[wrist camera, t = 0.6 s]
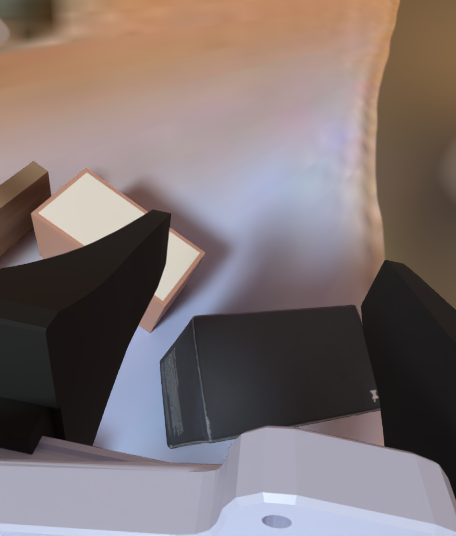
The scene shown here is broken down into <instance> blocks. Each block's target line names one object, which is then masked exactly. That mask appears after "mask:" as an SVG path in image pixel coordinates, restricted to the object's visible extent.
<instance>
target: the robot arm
mask: <svg viewBox="0 0 456 536" xmlns="http://www.w3.org/2000/svg"><path fill="white" fill-rule="evenodd" d="M170 219H171V213H166V212H161V211H157V210H151V211H150V212H148V213H146V214H144V215H143V216H141V217H139V218H138V219H136V220H134V221H133V222H131V223H129V224H127V225H126V226H124V227H122V228H120V229H119V230H117V231H115V232H113V233H111V234H109V235H107V236H105V237H103V238H101V239H99V240H97V241H95V242H93V243H90V244H88V245H85V246H83V247H81V248H78V249H75V250H72V251H70V252H67V253H64V254H61V255H57V256H54V257H50V258H47V259H43V260H39V261H36V262H32V263H28V264H23V265H18V266H13V267H8V268H2V269H0V536H456V310H455V309H454V308H453V307H452V306H451V305H450V304H449V303H447V302H446V301H445V300H444V299H443V298H442V297H441V296H440V295H439V294H438V293H436V292H435V291H434V290H433V289H432V288H431V287H430V286H429V285H427V283H426V282H424V281H423V280H422V279H421V278H420V277H419V276H418V275H417V274H415V273H414V272H413V271H412V270H411V269H410V268H408V267H407V266H405V265H404V264H402V263H397V262H393V261H388V260H385V261H384V263H383V264H382V266H381V268H380V270H379V272H378V274H377V276H376V278H375V280H374V282H373V284H372V286H371V288H370V290H369V291H368V293H367V295H366V297H365V299H364V301H363V303H362V305H361V312H362V325H363V333H364V338H365V342H366V346H367V350H368V354H369V358H370V362H371V367H372V371H373V375H374V379H375V383H376V387H377V391H378V396H379V402H380V409H381V418H382V426H383V435H384V446H385V447H384V446H380V445H375V444H370V443H366V442H361V441H356V440H351V439H347V438H342V437H337V436H333V435H328V434H323V433H318V432H314V431H309V430H304V429H300V428H295V427H282V426H264V427H261V428H257V429H253V430H250V431H246V432H244V433H243V434H241V435H240V436H239V437H238V438H237V439H236V440H235V441H234V443H233V444H232V445H231V446H230V447H229V450H228V453H227V456H226V458H225V461H224V463H223V464H190V463H169V462H164V461H159V460H155V459H150V458H145V457H140V456H136V455H131V454H126V453H121V452H117V451H112V450H107V449H102V448H98V447H93V443H94V440H95V437H96V434H97V431H98V428H99V425H100V422H101V419H102V416H103V413H104V410H105V407H106V405H107V402H108V399H109V396H110V393H111V391H112V388H113V385H114V382H115V380H116V377H117V374H118V371H119V369H120V366H121V364H122V361H123V358H124V356H125V353H126V350H127V348H128V346H129V343H130V341H131V339H132V337H133V335H134V333H135V331H136V329H137V327H138V325H139V323H140V321H141V319H142V317H143V315H144V314H145V312H146V310H147V308H148V306H149V304H150V302H151V300H152V298H153V296H154V294H155V292H156V290H157V288H158V285H159V283H160V280H161V277H162V274H163V271H164V268H165V265H166V259H167V249H168V239H169V229H170Z"/></svg>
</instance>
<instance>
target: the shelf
mask: <svg viewBox="0 0 456 536" xmlns="http://www.w3.org/2000/svg"><path fill="white" fill-rule="evenodd" d="M50 197H51V191H50V182H49V174H48V171H47V170H45V169H44V168H43V167H41V166H40V165H38V164H37V163H36V162H34V161H33V162H32V163H30V164H29V165H27V166H26V167H25V168H23V169H22V170H21V171H19V172H18V173H16V174H15V175H14V176H12V177H11V178H10V179H8V180H7V181H5V182H4V183H3V184H1V185H0V256H2V255H3V254H4V253H5V252H6V251H7V250H9V249H10V248H11V247H12V246H13V245H14V244H16V243H17V242H18V241H19V240H20V239H21V238H23V237H24V236H25V235H26V234H27V233H29V232H30V231H31V230H32V229H33V228H34V226H33V221H32V217H31V213H32V212H33V211H34V210H36V209H37V208H38V207H39V206H40V205H42V204H43V203H44V202H45V201H46V200H48V199H49V198H50Z"/></svg>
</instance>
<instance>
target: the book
mask: <svg viewBox="0 0 456 536" xmlns="http://www.w3.org/2000/svg"><path fill="white" fill-rule="evenodd" d="M146 213H148V211H146V210H145V209H143V208H142V207H141V206H139V205H138V204H136V203H135V202H134V201H132V200H131V199H129V198H128V197H127V196H125V195H124V194H122V193H121V192H120V191H118V190H117V189H115V188H114V187H112V186H111V185H110V184H108V183H107V182H105V181H104V180H103V179H101V178H100V177H98V176H97V175H96V174H94V173H93V172H91V171H90V170H89V169H87V168H85V169H84V170H83V171H82V172H80V173H79V174H78V175H77V176H76V177H74V178H73V179H72V180H71V181H69V182H68V183H67V184H66V185H65V186H63V187H62V188H61V189H60V190H59V191H57V192H56V193H55V194H54V195H53V196H51V197H50V198H49V199H48V200H46V201H45V202H44V203H43V204H42V205H40V206H39V207H38V208H37V209H36V210H34V211H33V212H32V213H31V217H32V221H33V226H34V231H35V235H36V240H37V244H38V249H39V254H40V256H41V257H42V258H44V259H47V258H50V257H54V256H57V255H61V254H64V253H67V252H70V251H72V250H75V249H78V248H81V247H83V246H85V245H88V244H90V243H93V242H95V241H97V240H99V239H101V238H103V237H105V236H107V235H109V234H111V233H113V232H115V231H117V230H119V229H120V228H122V227H124V226H126V225H127V224H129V223H131V222H133V221H134V220H136V219H138V218H139V217H141V216H143V215H144V214H146ZM204 255H205V252H204V251H202V250H201V249H200V248H198V247H197V246H195V245H194V244H193V243H191V242H190V241H188V240H187V239H186V238H184V237H183V236H181V235H180V234H179V233H177V232H176V231H174V230H173V229H172V228H170V229H169V239H168V249H167V259H166V265H165V268H164V271H163V274H162V277H161V280H160V283H159V285H158V288H157V290H156V292H155V294H154V296H153V298H152V300H151V302H150V304H149V306H148V308H147V310H146V312H145V314H144V315H143V317H142V319H141V321H140V323H139V326H141V327H142V328H143V329H145V330H146V331H148V332H149V333H151V331H152V330H153V329H154V327H155V326H156V325H157V323H158V322H159V321H160V319H161V318H162V317H163V315H164V314H165V312H166V311H167V310H168V308H169V307H170V306H171V304H172V303H173V302H174V300H175V299H176V298H177V296H178V295H179V294H180V292H181V291H182V290H183V288H184V287H185V286H186V284H187V282H188V281H189V279H190V278H191V276H192V274H193V273H194V271H195V269H196V268H197V266H198V264H199V263H200V261H201V260H202V258H203V256H204Z"/></svg>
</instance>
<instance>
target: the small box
mask: <svg viewBox="0 0 456 536" xmlns="http://www.w3.org/2000/svg"><path fill="white" fill-rule="evenodd" d="M160 372H161V384H162V395H163V405H164V415H165V427H166V437H167V445H168V447H169V448H170V449H173V448H178V447H183V446H190V445H195V444H201V443H215V442H220V441H225V440H231V439H236V438H238V437H239V436H240V435H241V434H243V433H244V432H246V431H250V430H253V429H257V428H261V427H264V426H282V427H299V426H304V425H309V424H314V423H319V422H324V421H329V420H334V419H339V418H344V417H350V416H354V415H360V414H364V413H369V412H374V411H379V410H381V409H380V402H379V396H378V391H377V387H376V383H375V379H374V375H373V371H372V367H371V362H370V358H369V354H368V350H367V346H366V342H365V338H364V333H363V325H362V321H361V319H360V316H359V313H358V310H357V307H356V306H355V305H345V306H332V307H318V308H305V309H291V310H276V311H261V312H246V313H230V314H213V315H198V316H193V318H192V319H191V321H190V322H189V324H188V325H187V326H186V327H185V329H184V330H183V332H182V333H181V334H180V336H179V337H178V338H177V340H176V341H175V342H174V344H173V345H172V346H171V347H170V349H169V350H168V351H167V353H166V354H165V355H164V357H163V358H162V359H161V360H160Z"/></svg>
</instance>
